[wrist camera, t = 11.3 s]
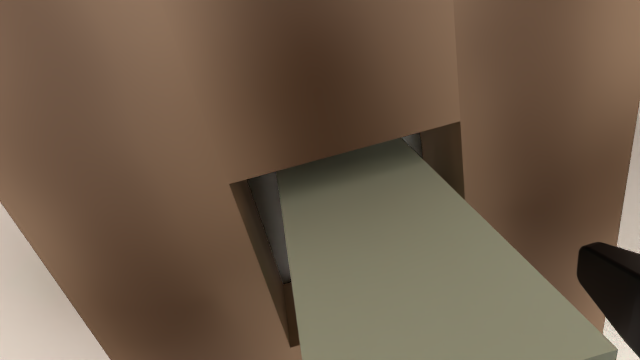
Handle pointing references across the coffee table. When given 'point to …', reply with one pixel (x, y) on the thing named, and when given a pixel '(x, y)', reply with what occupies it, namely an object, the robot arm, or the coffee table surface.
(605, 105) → the walnut well block
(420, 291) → the sage peg
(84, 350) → the coffee table surface
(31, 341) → the coffee table surface
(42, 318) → the coffee table surface
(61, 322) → the coffee table surface
